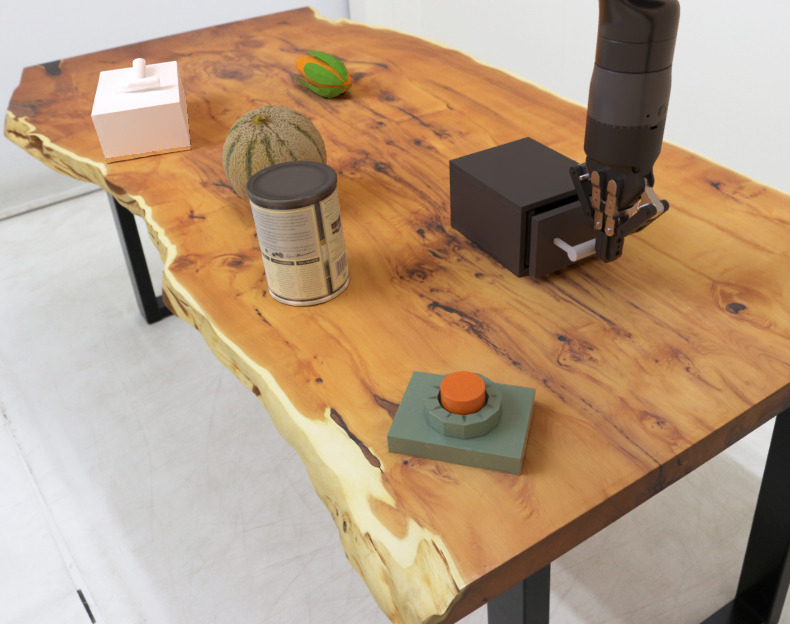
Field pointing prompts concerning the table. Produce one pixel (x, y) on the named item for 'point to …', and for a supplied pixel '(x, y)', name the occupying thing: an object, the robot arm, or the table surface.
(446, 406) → the button
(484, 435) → the control block
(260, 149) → the cantaloupe
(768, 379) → the table surface
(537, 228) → the dark drawer
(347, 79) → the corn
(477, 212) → the small drawer cabinet
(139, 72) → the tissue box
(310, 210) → the coffee can
